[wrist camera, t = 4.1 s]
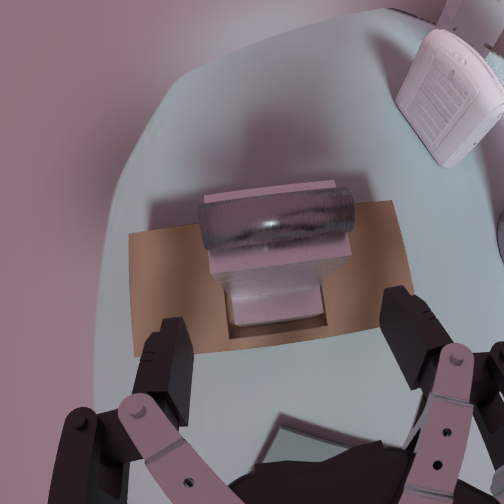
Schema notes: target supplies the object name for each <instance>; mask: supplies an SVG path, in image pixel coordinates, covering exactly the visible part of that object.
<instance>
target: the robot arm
mask: <svg viewBox="0 0 504 504" xmlns="http://www.w3.org/2000/svg"><path fill="white" fill-rule="evenodd" d="M498 243H499V248H500V253H501V256H502V259H503V262H504V212H503V213H502V215H501V217H500V220H499V224H498ZM379 324H380V328H381V331H382V333H383V335H384V337H385V339H386V341H387V343H388V345H389V347H390V349H391V351H392V353H393V355H394V357H395V359H396V361H397V363H398V365H399V367H400V369H401V371H402V373H403V375H404V377H405V379H406V381H407V383H408V385H409V387H410V390H414V389H417V388H421V390H422V392H423V393H422V395H421V397H420V401H419V404H418V407H417V410H416V414H415V417H414V420H413V423H412V426H411V429H410V432H409V434H408V436H407V439H406V441H405V443H404V445H403V447H402V449H401V448H395V447H383V444H382V441H381V440H379V441H375V442H372V443H368V444H364V445H361V446H357V447H353V448H350V449H348V450H346V451H344V452H342V453H340V454H338V455H336V456H334V457H331V458H329V459H327V460H325V461H321V462H309V461H292V460H284V461H276V462H268V463H259V464H255V471H253V472H250V473H248V474H246V475H243V476H241V477H240V478H238V479H236V480H235V481H233V482H232V483H230V484H229V485H228V486H227V485H226V484H225V483H224V482H223V481H222V480H221V479H220V478H219V477H218V476H217V475H216V474H215V473H214V472H213V471H212V469H211V468H210V467H209V466H208V465H207V464H206V463H205V462H204V461H203V459H202V458H201V457H200V456H199V455H198V454H197V452H196V451H195V450H194V449H193V448H192V447H191V445H190V444H189V443H188V442H187V441H186V440H185V439H184V438H183V437H182V436H181V435H180V433H179V427H184V426H188V419H189V406H190V394H191V383H192V372H193V361H194V352H193V346H192V342H191V339H190V336H189V334H188V331H187V328H186V325H185V322H184V319H183V317H173V318H164V319H163V320H162V323H161V327H160V332H152V333H151V334H150V336H149V337H148V338H147V340H146V341H145V343H144V347H143V351H142V355H141V359H140V363H139V366H138V370H137V375H136V379H135V383H134V387H133V391H132V395H130V396H128V397H126V398H125V399H124V400H123V401H122V402H121V404H120V405H119V408H118V409H115V410H112V411H108V412H104V413H100V414H96V413H95V412H94V411H93V410H92V409H90V408H87V407H80V408H77V409H74V410H73V411H71V412H70V413H69V415H68V416H67V418H66V419H65V423H64V426H63V430H62V434H61V439H60V442H59V447H58V451H57V455H56V461H55V465H54V470H53V475H52V480H51V486H50V492H49V498H48V504H127V495H128V480H129V468H130V462H131V461H136V460H140V459H144V460H145V465H146V467H147V469H148V470H149V472H150V473H151V475H152V476H153V477H154V479H155V480H156V482H157V483H158V485H159V486H160V487H161V489H162V490H163V491H164V493H165V494H166V495H167V497H168V498H169V499H170V501H171V502H172V503H173V504H504V402H503V400H502V398H501V396H500V394H499V392H500V391H501V393H502V395H503V397H504V342H503V341H501V342H497V343H495V344H494V345H493V346H492V348H491V350H490V352H482V353H472V352H471V350H470V349H469V348H468V347H466V346H465V345H463V344H459V343H454V342H453V341H452V339H451V338H450V336H449V335H448V333H447V332H446V331H445V329H444V328H443V326H442V325H441V323H440V322H439V321H438V319H436V316H435V315H434V313H433V312H431V309H430V308H429V307H428V305H427V304H426V302H425V301H423V300H422V299H420V298H419V297H418V296H416V295H412V296H411V295H410V294H409V292H408V291H407V289H406V288H405V287H404V286H403V285H399V286H394V287H388V288H385V289H384V292H383V298H382V304H381V310H380V315H379ZM472 414H473V417H474V419H475V421H476V424H477V426H478V428H479V431H480V433H481V435H482V438H483V440H484V443H485V445H486V448H487V450H488V453H489V456H490V458H491V461H492V464H493V466H494V469H495V473H494V476H493V480H492V485H491V487H490V490H491V493H492V494H493V496H491V495H489V494H487V493H485V492H483V491H481V490H479V489H477V488H475V487H473V486H471V485H469V484H467V483H466V482H464V481H462V480H460V479H458V476H459V472H460V468H461V465H462V461H463V457H464V453H465V449H466V444H467V440H468V435H469V430H470V425H471V420H472Z"/></svg>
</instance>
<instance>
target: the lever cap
mask: <svg viewBox="0 0 504 504" xmlns="http://www.w3.org/2000/svg"><path fill="white" fill-rule="evenodd" d="M354 224H355V209H354V202H353V198H352V195H351V193H350V191H349V189H348V188H347V187H345V186H344V187H336V184H335V180H326V181H316V182H306V183H296V184H287V185H278V186H269V187H261V188H253V189H246V190H238V191H231V192H224V193H217V194H210V195H204V203H202V204H199V226H200V233H201V238H202V242H203V246H204V248H205V250H208V255H209V266H210V274H211V275H212V276H213V278H214V279H215V280H216V281H217V282H218V283H219V285H220V286H221V287H222V288H223V289H224V290H225V292H226V293H227V294H228V295H229V296H230V297H231V298H232V306H233V314H234V323H235V325H236V326H239V327H247V326H255V325H263V324H270V323H278V322H285V321H292V320H299V319H305V318H312V317H315V316H317V315H320V314H322V313H324V312H323V306H322V299H321V293H320V286H321V285H322V284H323V283H324V282H325V281H326V280H327V279H328V278H329V277H330V276H331V275H332V274H333V273H334V272H335V271H336V270H337V269H338V268H339V267H340V266H341V265H342V264H343V263H344V262H345V261H346V260H347V259H348V258H349V257H350V256H351V255H352V253H351V248H350V243H349V239H348V234H347V232H351V231H352V230H353V228H354Z"/></svg>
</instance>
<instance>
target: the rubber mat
mask: <svg viewBox="0 0 504 504" xmlns="http://www.w3.org/2000/svg"><path fill="white" fill-rule="evenodd" d="M350 448H353V447H350V446H347V445H343V444H339V443H335V442H332V441H328V440H325V439H322V438H318V437H315V436H312V435H309V434H305V433H302V432H299V431H296V430H293V429H290V428H287V427H284V426H282V425H279V427H278V429H277V431H276V433H275V435H274V437H273V439H272V441H271V443H270V445H269V447H268V449H267V451H266V453H265V455H264V457H263V459H262V461H261V463H268V462H276V461H284V460H292V461H309V462H321V461H325V460H327V459H329V458H331V457H334V456H336V455H338V454H340V453H342V452H344V451H346V450H348V449H350Z"/></svg>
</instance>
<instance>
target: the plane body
mask: <svg viewBox="0 0 504 504" xmlns="http://www.w3.org/2000/svg"><path fill="white" fill-rule="evenodd" d="M354 209H355V224H354V228H353V230H352V231H351V232H347V234H348V239H349V243H350V248H351V253H352V255H351V256H350V257H349V258H348V259H347V260H346V261H345V262H344V263H343V264H342V265H341V266H340V267H339V268H338V269H337V270H336V271H335V272H334V273H333V274H332V275H331V276H330V277H329V278H328V279H327V280H326V281H325V282H324V283H323V284H322V285H321V286H320V293H321V299H322V306H323V312H324V313H322V314H320V315H317V316H315V317H312V318H305V319H299V320H292V321H285V322H278V323H270V324H263V325H255V326H247V327H239V326H236V325H235V323H234V314H233V306H232V298H231V297H230V296H229V295H228V294H227V293H226V292H225V290H224V289H223V288H222V287H221V286H220V285H219V283H218V282H217V281H216V280H215V279H214V278H213V276H212V275H211V274H210V266H209V255H208V250H205V248H204V246H203V242H202V238H201V233H200V226H199V223H196V224H189V225H182V226H175V227H169V228H162V229H156V230H150V231H143V232H137V233H131V234H129V284H130V305H131V320H132V333H133V344H134V354H135V357H141V355H142V351H143V347H144V343H145V341H146V340H147V338H148V337H149V336H150V334H151V333H152V332H160V327H161V323H162V320H163V319H164V318H173V317H183V319H184V322H185V325H186V328H187V331H188V334H189V336H190V339H191V342H192V346H193V352H194V354H200V353H211V352H222V351H232V350H241V349H250V348H258V347H266V346H274V345H281V344H288V343H295V342H301V341H308V340H314V339H320V338H326V337H331V336H337V335H342V334H348V333H353V332H358V331H363V330H368V329H373V328H377V327H380V324H379V315H380V310H381V304H382V298H383V292H384V289H385V288H388V287H394V286H399V285H403V286H404V287H405V288H406V289H407V291H408V292H409V294H410V295H411V296H412V295H414V290H413V284H412V279H411V274H410V270H409V265H408V260H407V256H406V252H405V247H404V243H403V239H402V235H401V231H400V227H399V224H398V220H397V216H396V213H395V209H394V205H393V202H392V200H390V201H379V202H368V203H358V204H354Z"/></svg>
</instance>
